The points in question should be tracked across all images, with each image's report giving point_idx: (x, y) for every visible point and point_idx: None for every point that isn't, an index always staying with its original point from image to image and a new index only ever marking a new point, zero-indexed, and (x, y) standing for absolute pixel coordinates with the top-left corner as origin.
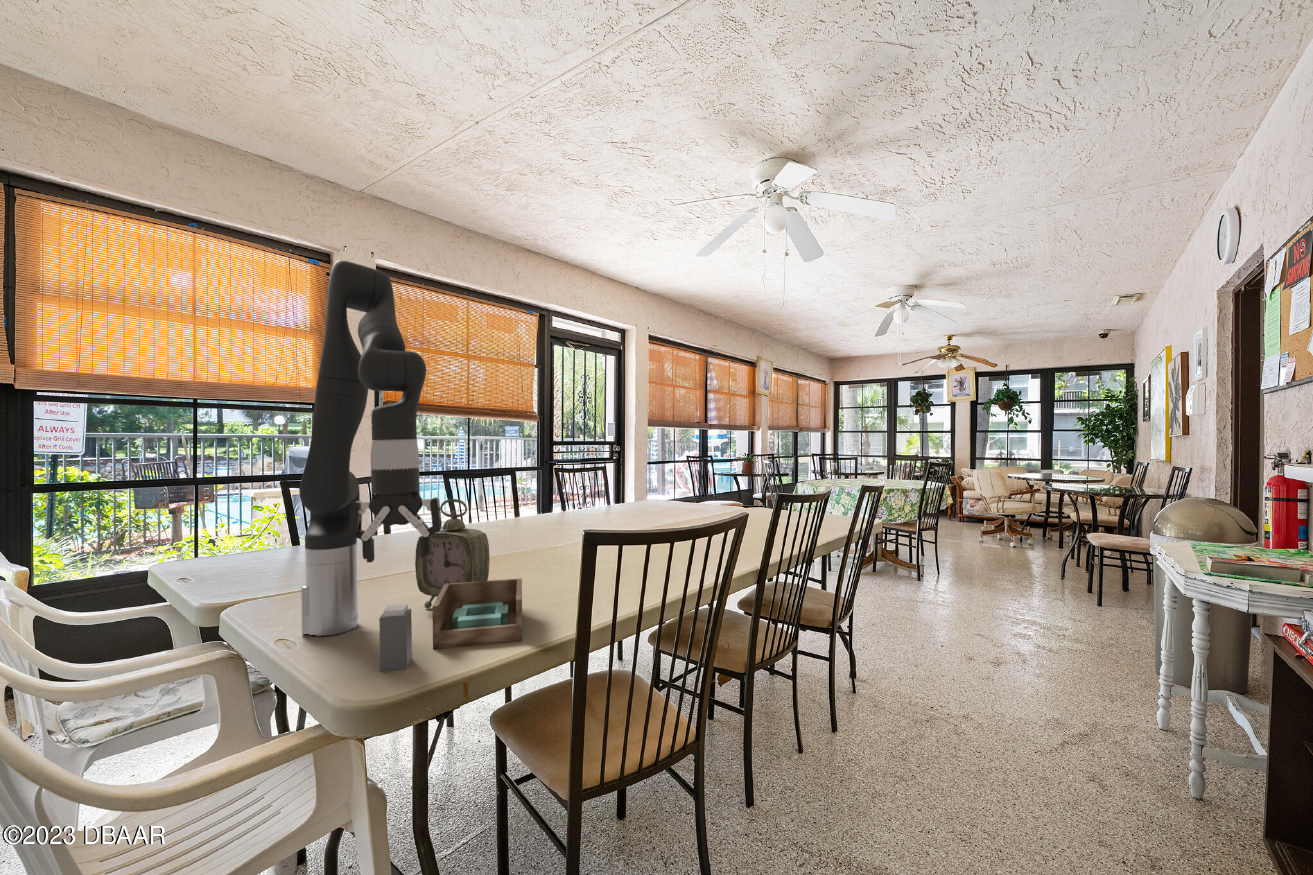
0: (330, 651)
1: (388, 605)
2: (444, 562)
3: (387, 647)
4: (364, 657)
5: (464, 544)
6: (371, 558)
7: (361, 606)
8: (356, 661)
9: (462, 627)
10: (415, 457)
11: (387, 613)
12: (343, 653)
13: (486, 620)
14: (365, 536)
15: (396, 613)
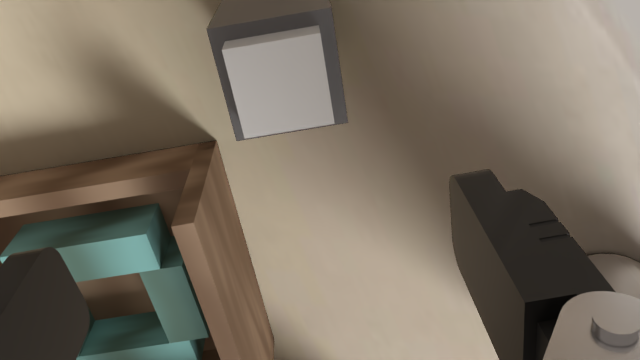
0: (540, 148)
1: (331, 123)
2: None
3: None
4: (417, 92)
5: None
6: (458, 194)
7: None
8: (432, 62)
9: (135, 221)
10: None
11: (299, 31)
12: (495, 129)
13: (49, 244)
14: (617, 327)
15: (258, 40)
